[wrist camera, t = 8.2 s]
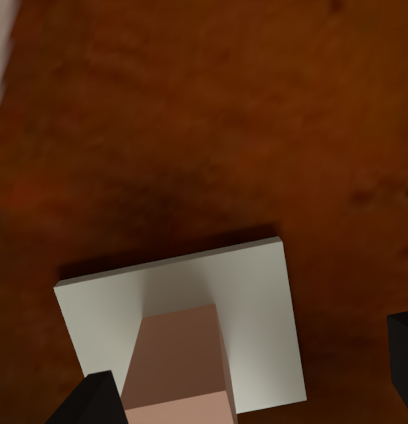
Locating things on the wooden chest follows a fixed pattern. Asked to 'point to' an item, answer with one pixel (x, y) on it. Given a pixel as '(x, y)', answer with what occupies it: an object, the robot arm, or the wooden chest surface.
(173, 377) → the block
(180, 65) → the wooden chest surface
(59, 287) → the mat
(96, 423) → the robot arm
